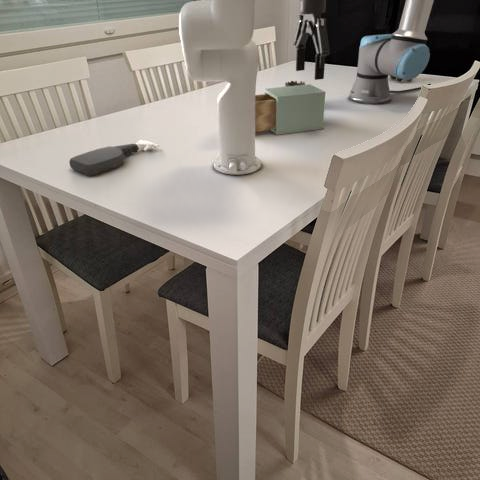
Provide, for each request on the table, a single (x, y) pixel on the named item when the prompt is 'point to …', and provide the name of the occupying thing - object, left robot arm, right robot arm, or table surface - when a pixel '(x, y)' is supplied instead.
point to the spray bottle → (106, 157)
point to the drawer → (265, 112)
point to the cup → (294, 83)
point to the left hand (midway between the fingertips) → (235, 83)
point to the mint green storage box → (298, 108)
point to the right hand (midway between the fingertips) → (309, 74)
